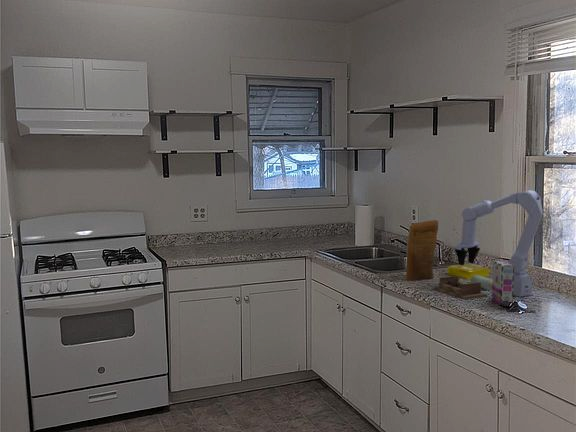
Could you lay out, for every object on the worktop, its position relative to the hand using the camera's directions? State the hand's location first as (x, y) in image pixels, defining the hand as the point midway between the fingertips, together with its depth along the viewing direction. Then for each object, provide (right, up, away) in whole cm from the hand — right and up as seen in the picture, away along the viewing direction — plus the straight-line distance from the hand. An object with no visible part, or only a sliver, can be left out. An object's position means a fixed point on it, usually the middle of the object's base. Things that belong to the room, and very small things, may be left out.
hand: (466, 263), depth 257 cm
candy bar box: (+6, -14, -28) cm, 31 cm away
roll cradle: (-6, -12, -10) cm, 16 cm away
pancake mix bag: (-16, -9, +17) cm, 25 cm away
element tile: (+9, -8, +25) cm, 28 cm away
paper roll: (+7, -8, -2) cm, 11 cm away
